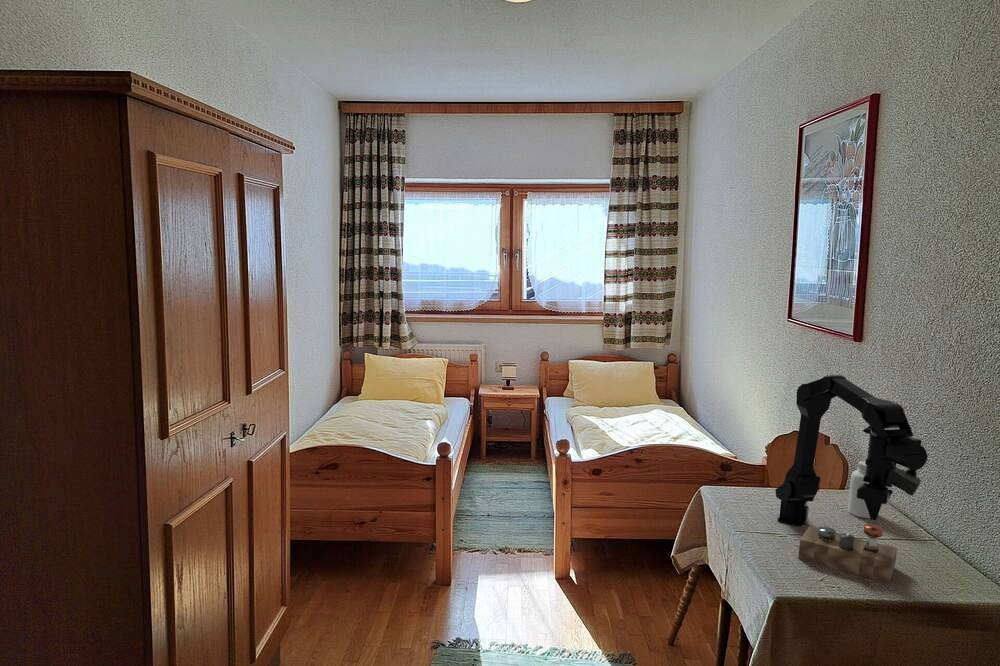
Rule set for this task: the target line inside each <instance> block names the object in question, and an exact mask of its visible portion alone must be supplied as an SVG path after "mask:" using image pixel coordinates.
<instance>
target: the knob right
mask: <svg viewBox="0 0 1000 666" xmlns="http://www.w3.org/2000/svg"><path fill="white" fill-rule="evenodd" d="M863 533H864V534H865V535H866V539H865V540H866V548H865V550H866V551H870V552H874V553H876V551H877V543H878V541H879V538H880V537H883V533H884V528H883V527H882V526H880V525H878V524H875V523H865V524H864V526H863ZM878 544H879V543H878Z"/></svg>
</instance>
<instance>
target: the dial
mask: <svg viewBox="0 0 1000 666" xmlns="http://www.w3.org/2000/svg"><path fill="white" fill-rule="evenodd" d="M840 534H841V535H840V543H839V547H840V548H841V549H843V550H847V551H851V550H853V544H854V538H855V536H854V535H852V534H850V532H846V533H840Z"/></svg>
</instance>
